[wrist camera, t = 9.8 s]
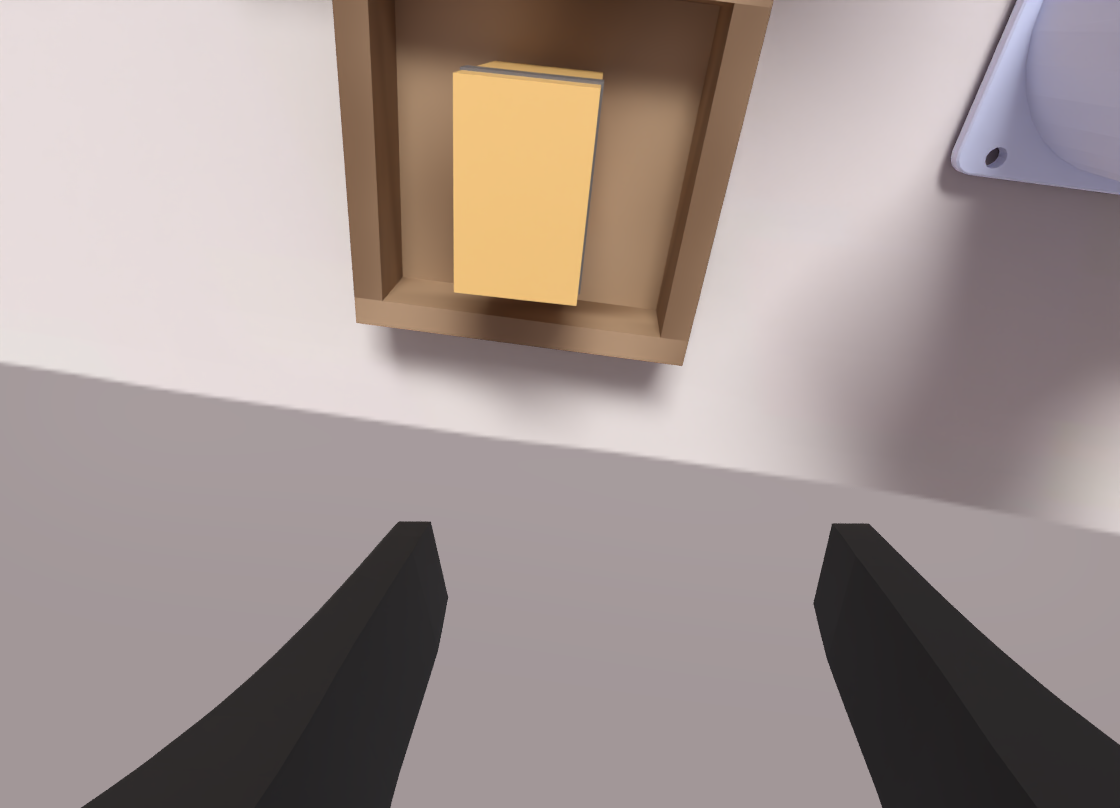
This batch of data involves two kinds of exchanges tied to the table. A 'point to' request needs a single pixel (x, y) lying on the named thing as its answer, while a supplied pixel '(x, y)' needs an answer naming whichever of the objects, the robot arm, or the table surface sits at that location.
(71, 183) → the table surface
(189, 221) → the table surface
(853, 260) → the table surface
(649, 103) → the tray
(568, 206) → the block
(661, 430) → the table surface
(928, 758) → the robot arm
